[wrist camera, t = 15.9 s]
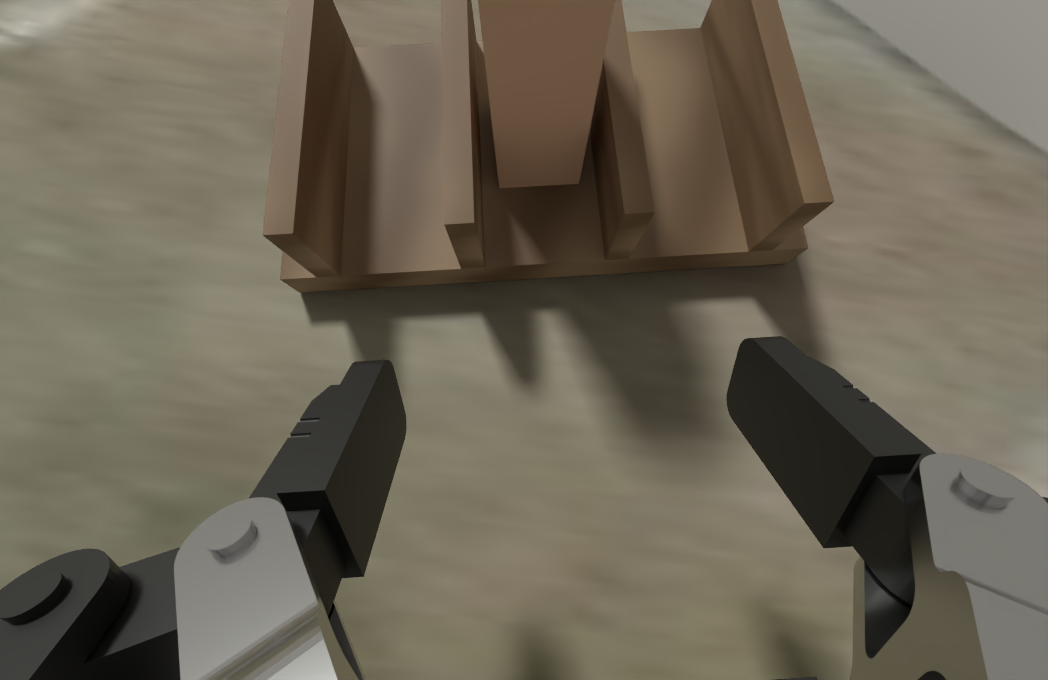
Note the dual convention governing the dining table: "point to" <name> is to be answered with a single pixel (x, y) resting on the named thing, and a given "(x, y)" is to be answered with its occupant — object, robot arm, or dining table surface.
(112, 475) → the dining table surface
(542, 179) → the clay block
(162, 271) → the dining table surface
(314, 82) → the walnut rack
